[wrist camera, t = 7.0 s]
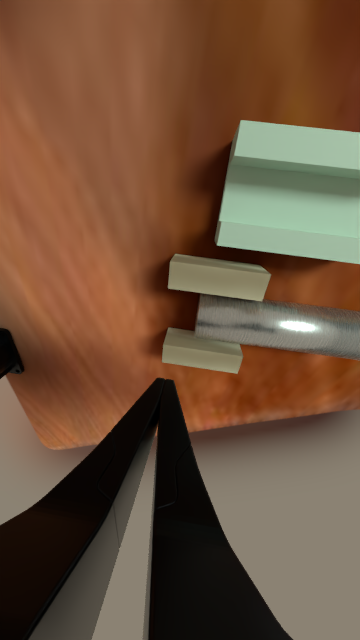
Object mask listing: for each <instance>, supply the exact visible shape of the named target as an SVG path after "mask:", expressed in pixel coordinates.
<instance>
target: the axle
mask: <svg viewBox="0 0 360 640" xmlns="http://www.w3.org/2000/svg"><path fill="white" fill-rule="evenodd" d="M194 338H201V339H209V340H216V341H223V342H230V343H238V344H245V345H252V346H260V347H267V348H274V349H282V350H289V351H296V352H304V353H311V354H318V355H325V356H333V357H340V358H347V359H355V360H360V311H353V310H345V309H337V308H329V307H321V306H314V305H306V304H298V303H290V302H282V301H274V300H266V299H263V300H262V301H255V300H248V299H241V298H234V297H226V296H219V295H212V294H205V293H200V294H199V300H198V306H197V313H196V320H195V329H194Z"/></svg>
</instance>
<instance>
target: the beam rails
mask: <svg viewBox="0 0 360 640" xmlns="http://www.w3.org/2000/svg"><path fill="white" fill-rule="evenodd" d="M270 277H271V274H270V273H269V272H267V271H266V270H265V269H264V268H263V267H262V266H260V265H257V264H249V263H241V262H234V261H226V260H219V259H211V258H204V257H196V256H188V255H181V254H175V255H174V256H173V258H172V259H171V261H170V269H169V281H168V289H176V290H183V291H190V292H197V293H205V294H212V295H219V296H226V297H234V298H241V299H248V300H255V301H262V300H263V297H264V294H265V291H266V288H267V285H268V283H269V280H270ZM242 358H243V354H242V351H241V348H240V344H238V343H230V342H223V341H216V340H209V339H201V338H194V331H190V330H183V329H177V328H170V327H168V331H167V334H166V337H165V341H164V344H163V354H162V362H165V363H171V364H178V365H185V366H191V367H198V368H204V369H211V370H217V371H224V372H231V373H238V370H239V367H240V364H241V361H242Z"/></svg>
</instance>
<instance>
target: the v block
mask: <svg viewBox="0 0 360 640" xmlns="http://www.w3.org/2000/svg"><path fill="white" fill-rule="evenodd" d="M214 241H215V243H216V244H217V246H225V247H233V248H240V249H248V250H256V251H263V252H271V253H279V254H287V255H294V256H302V257H310V258H318V259H325V260H333V261H341V262H349V263H356V264H360V133H357V132H348V131H339V130H329V129H320V128H310V127H301V126H292V125H282V124H273V123H263V122H254V121H244V120H241V121H240V124H239V126H238V129H237V131H236V133H235V136H234V138H233V141H232V146H231V152H230V157H229V163H228V168H227V174H226V179H225V185H224V190H223V196H222V201H221V207H220V212H219V218H218V223H217V229H216V234H215V240H214Z"/></svg>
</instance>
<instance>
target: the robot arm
mask: <svg viewBox="0 0 360 640" xmlns="http://www.w3.org/2000/svg"><path fill="white" fill-rule="evenodd" d="M8 372H9V373H15V374H21V373H23V372H24V368H23V365H22V363H21V360H20V357H19V355H18V352H17V349H16V347H15V344H14V342H13V339H12V336H11V334H10V332H9V331H8V330H7V329H3V328H0V379H1V378H2V377H3V376H5V375H6V374H7V373H8ZM157 426H158V432H157V446H156V460H155V475H154V488H153V502H152V516H151V531H150V545H149V559H148V572H147V586H146V599H145V613H144V628H143V640H293V639H292V638H291V637H290V636H289V635H288V634H287V633H286V632H285V631H284V629H283V628H282V627H281V625H280V624H279V622H278V621H277V620H276V618H275V617H274V615H273V613H272V612H271V610H270V609H269V607H268V605H267V604H266V602H265V601H264V599H263V597H262V596H261V594H260V593H259V591H258V589H257V588H256V586H255V585H254V583H253V581H252V580H251V578H250V577H249V575H248V574H247V572H246V570H245V569H244V567H243V566H242V564H241V562H240V561H239V559H238V558H237V556H236V555H235V553H234V551H233V550H232V548H231V546H230V544H229V542H228V540H227V538H226V536H225V534H224V532H223V530H222V527H221V525H220V523H219V520H218V517H217V515H216V513H215V510H214V507H213V505H212V503H211V500H210V497H209V495H208V492H207V490H206V488H205V485H204V482H203V479H202V477H201V474H200V471H199V469H198V466H197V462H196V459H195V456H194V452H193V448H192V446H191V441H190V438H189V434H188V430H187V427H186V423H185V419H184V416H183V412H182V408H181V405H180V401H179V397H178V394H177V390H176V387H175V383H174V380H170V379H166V380H165V379H164V378H156V380H155V381H154V382H153V383H152V384H151V385H150V386H149V388H148V389H147V390H146V391H145V392H144V393H143V394H142V396H141V397H140V398H139V399H138V400H137V401H136V402H135V404H134V405H133V406H132V407H131V408H130V409H129V410H128V412H127V413H126V414H125V415H124V416H123V417H122V418H121V420H120V421H119V422H118V423H117V424H116V425H115V426H114V428H113V429H112V430H111V432H109V433H108V434H107V436H106V437H105V438H104V439H103V440H102V441H101V442H100V443H99V444H98V445H97V447H96V448H95V449H94V450H93V451H92V452H91V453H90V454H89V455H88V456H87V457H86V458H85V459H84V460H83V461H82V462H81V463H80V464H79V465H77V466H76V467H75V468H74V469H73V470H72V471H71V472H70V473H69V474H68V475H67V476H66V477H65V478H64V479H63V480H61V481H60V482H59V483H58V484H57V485H56V486H55V487H54V488H53V489H52V490H51V491H50V492H49V493H48V494H46V496H44V497H43V498H42V499H41V500H39V501H38V502H37V503H36V504H34V505H33V506H32V507H30V508H29V509H27V510H26V511H24V512H22V513H21V514H19V515H17V516H15V517H14V518H12V519H10V520H8V521H7V522H5V523H3V524H2V525H0V640H91V639H92V636H93V633H94V630H95V626H96V623H97V620H98V617H99V613H100V610H101V607H102V604H103V601H104V597H105V594H106V591H107V588H108V585H109V581H110V578H111V575H112V572H113V568H114V565H115V562H116V559H117V555H118V552H119V548H120V546H121V542H122V539H123V536H124V533H125V530H126V526H127V523H128V520H129V517H130V513H131V510H132V507H133V504H134V501H135V497H136V494H137V491H138V488H139V484H140V481H141V477H142V475H143V471H144V468H145V465H146V461H147V459H148V455H149V452H150V449H151V446H152V442H153V439H154V436H155V433H156V429H157Z"/></svg>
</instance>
